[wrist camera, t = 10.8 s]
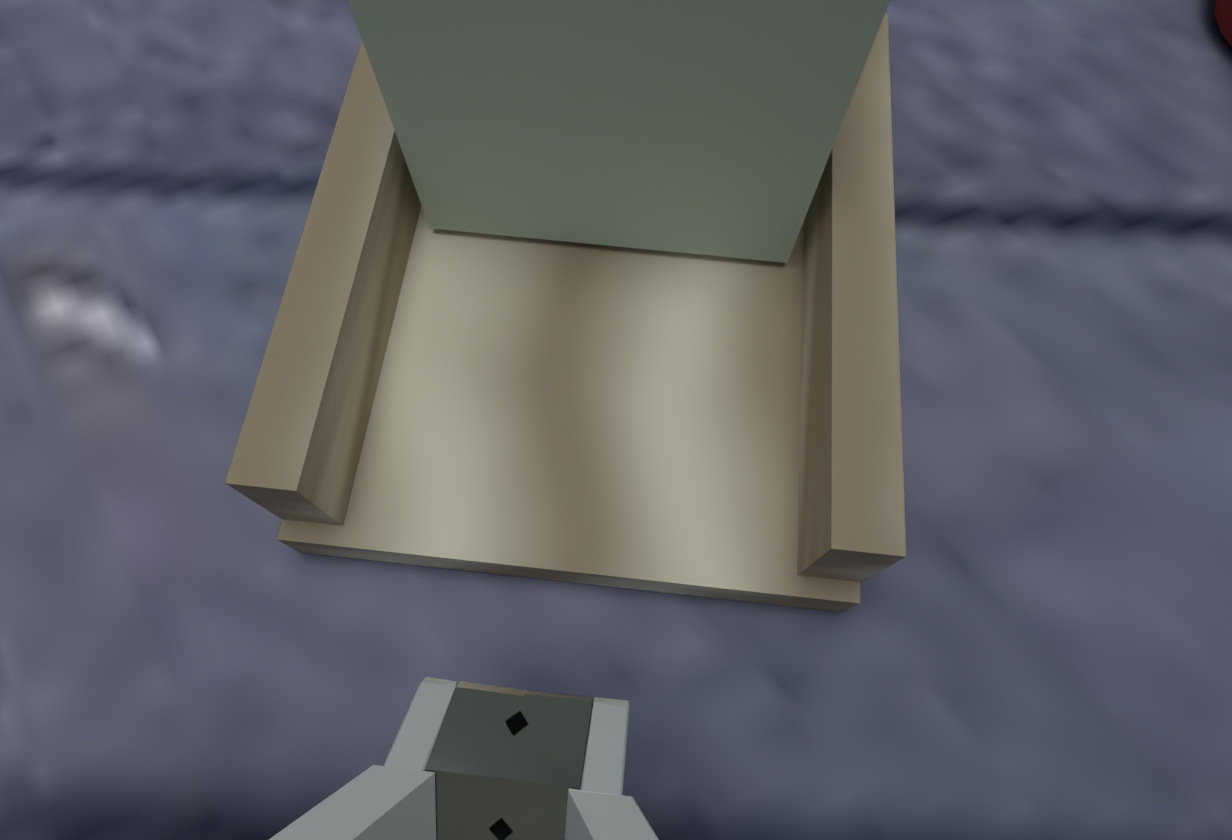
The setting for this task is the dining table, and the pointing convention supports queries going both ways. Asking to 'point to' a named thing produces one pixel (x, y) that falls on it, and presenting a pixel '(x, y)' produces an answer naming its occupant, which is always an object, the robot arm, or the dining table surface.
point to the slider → (620, 114)
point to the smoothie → (1224, 18)
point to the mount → (588, 388)
